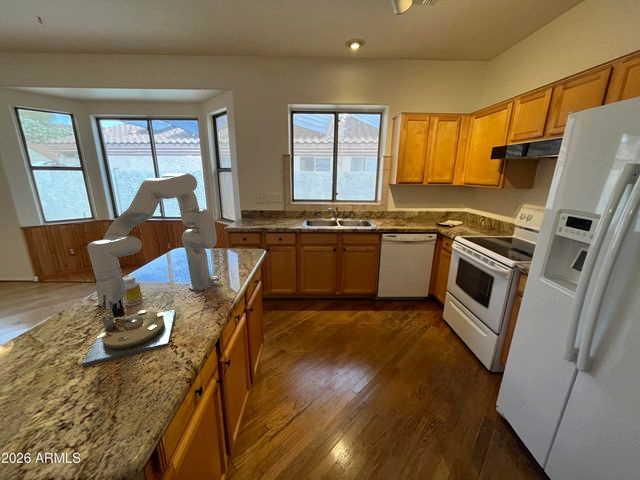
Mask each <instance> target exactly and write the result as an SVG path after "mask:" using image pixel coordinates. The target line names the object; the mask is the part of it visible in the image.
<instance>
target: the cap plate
mask: <svg viewBox="0 0 640 480" xmlns="http://www.w3.org/2000/svg"><path fill="white" fill-rule="evenodd" d="M160 313H162V314H163V318H164V323H165V325H164V327H163V329H162V330H161V331H160V332H159V333H158V334H157V335H156V336H154V337H153V338H151V339H149V340H147V341H145V342H143V343H140V344H138V345H135V346H131V347H127V348H121V349H111V348H107V347H105V346H104V345H103V342H102V338H101V335H100V334H102V332H103V331H104V329H105V328H103V329H102V331H101V332H100V334H99V335H97V336H96V339H95V341H94V342H93V345H92V346H91V348H90V349H89V351H88V352H87V353H86V355H85V357H84V358H83V360H82V361H81V362H80V363H81V367H82V368H85V367H89V366H93V365H96V364H100V363H106V362H109V361H110V362H111V361H114V360H118V359H122V358H126V357H130V356H131V357H132V356H134V355H138V354H142V353H147V352H151V351H155V350H159V349H164V348H166V347H167V348H168V347H169V345H170V340H171V335H172V332H173V327H174V321H175V317H176V309H171V310H168V311H166V310H165V311H163V312H160Z"/></svg>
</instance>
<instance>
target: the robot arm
mask: <svg viewBox="0 0 640 480" xmlns="http://www.w3.org/2000/svg"><path fill="white" fill-rule="evenodd" d="M197 187H198V180H197V178H196V177H195V176H194V174H191V173H185V172H184V173H181V172H180V173H179V172H174V173H173V172H172V173H170V172H169V173H164V174H163V175H162V176H161V177H158V178H157V177H156V178H155V177H154V178H153V177H152V178H151V177H150V178H147V179H144V180H143V181H142V183H140V186H139V188H138V190H137V192H136V193H135V195H134V197H133V199H132V201H131V202H130V205H129V206H128V208H127V209H126V210H125V211H124V212H121V214H120V215H118V217H116V218H115V219H114V220H113V222H111V224H110V225H109V227H108V229H107V230H106V232H105V234H104V236H103V239H100V240H99V239H98V240H94V241H91V242H89V243H88V244H87V245H86V247H87V252H88V255H89V258H90V262H91V266H92V270H93V273H94V276H95V277H96V280H97V281H96V286H95V289H96V288H97V291H96V295H97V300H98V302H99V305H100V306H101V307H103V306H104V305H105V309H106V310H111V312H112V317H113V319H114V318H115V319H118V318H124V316H125V314H126V312H125V307H124V301H123V299H124V295H125V294H126V287H125V283H124V280H123V278H124V277H123V275H122V273H123V272H122V270H121V266H120V262H119V258H121V257H127V256H132V255H135V254H137V253H139V252H140V251H141V249H142V246H143V244H142V241H141V240H140V239H139V238H138V237H136V236H134V235H129V233H130V232H131V230H132V229H133V228H135V227H136V226H138V225H140V224H142V223H144V222H146V221H148V220H150V219H152V217H153V216H154V214H155V212H156V210H157V208H158V206H159V203H160V202H161V200H164V199H165V200H171V199H175V198H176V200H177V203H178V207H179V212H180V213H179V214H180V219H181V222H182V225H184V226H186V227H191V228H189V229H186V230H185V231H183V233H182V235H181V243H182V245H183V247H184V250H185V253H186V254H185V255H186V259H187V265H188V267H187V268H188V270H189V271H188V272H189V277H190V278H189V279H190V283H189V284H188V290H190V291H203V290H207V289H210V288H211V287H213V286H214V284H215V283H214V282H217V281H218V282H219V281H220V277H219V276H216V275H214V276H211V275H212V274H210V268H209V260H208V254H207V251H206V250H211V249H213V248H214V247H215V246H216V245H217V241H218V239H217V229H216V223H215V217H214V215H213V213H212V212H211V211H210V210H209V209H206V208H200V206H199V202H198V199H197V195H196V193H195V192H194V191H196V189H197Z"/></svg>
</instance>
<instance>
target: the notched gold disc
mask: <svg viewBox="0 0 640 480" xmlns="http://www.w3.org/2000/svg"><path fill="white" fill-rule="evenodd" d="M102 324H103V327H104V328H105V329H104V328H103V329H104V331H103V330H102V331H103V332H102V331H101V332H102V334H101V333H100V334H99V335H101V338H102V342H103V345H104V346H105V347H107V348H111V349H121V348H127V347H131V346H135V345H138V344H140V343H143V342H145V341H147V340H149V339H151V338H153V337H154V336H156V335H157V334H158V333H159V332H160V331H161V330H162V329H163V327H164V325H165V323H164V318H163V314H162V313H161V312H157V311H148V309H147V310H146V309H145V310H139V312H136V313H134V314H130V315H127V316H125V317H124V316H123V317H120V318H115V319H114V316H109V317H106V318H103V320H102Z"/></svg>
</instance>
